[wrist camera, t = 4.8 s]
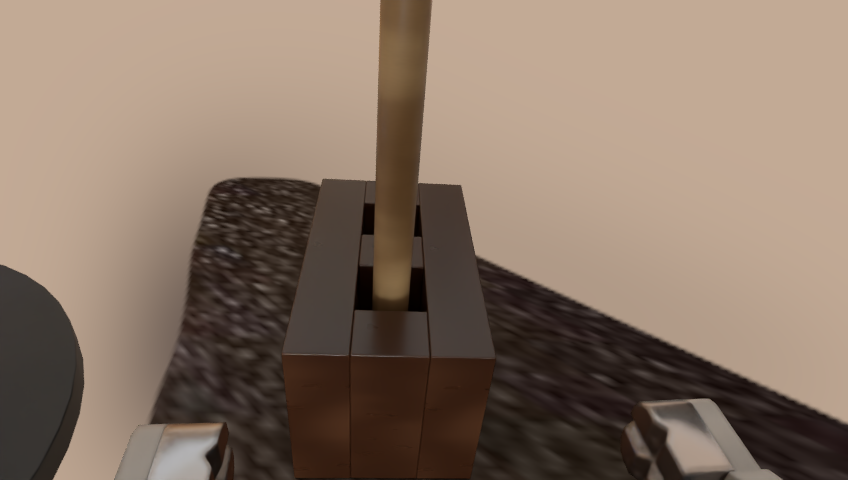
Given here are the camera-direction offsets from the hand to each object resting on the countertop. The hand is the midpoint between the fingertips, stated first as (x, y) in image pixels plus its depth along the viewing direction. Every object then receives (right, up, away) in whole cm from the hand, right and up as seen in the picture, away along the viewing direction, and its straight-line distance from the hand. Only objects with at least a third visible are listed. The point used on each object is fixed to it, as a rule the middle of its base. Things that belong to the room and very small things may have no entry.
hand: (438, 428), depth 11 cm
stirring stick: (-2, -5, +17) cm, 18 cm away
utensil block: (-2, -3, +19) cm, 20 cm away
